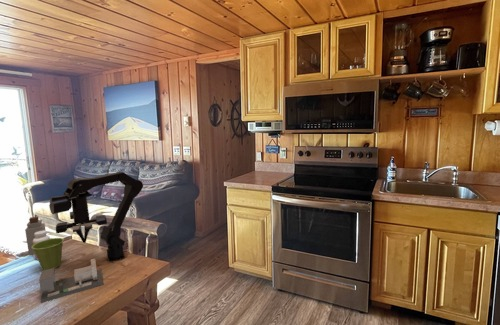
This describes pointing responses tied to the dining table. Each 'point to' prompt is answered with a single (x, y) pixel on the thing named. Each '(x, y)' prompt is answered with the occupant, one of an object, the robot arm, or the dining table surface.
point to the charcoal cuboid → (60, 287)
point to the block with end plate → (86, 273)
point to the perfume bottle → (32, 228)
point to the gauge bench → (64, 285)
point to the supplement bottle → (39, 239)
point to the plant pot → (49, 252)
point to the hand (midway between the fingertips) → (84, 242)
